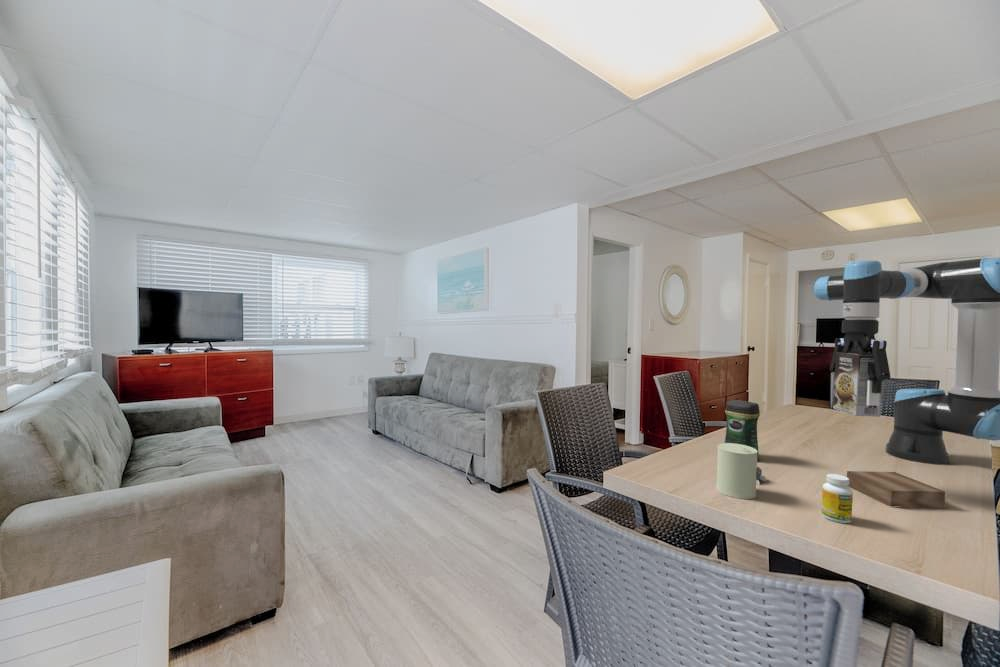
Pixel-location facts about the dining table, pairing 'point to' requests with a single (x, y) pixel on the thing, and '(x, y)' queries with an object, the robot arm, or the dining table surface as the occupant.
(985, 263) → the robot arm
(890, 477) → the walnut stand
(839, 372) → the cookie box
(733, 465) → the can
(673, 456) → the dining table surface
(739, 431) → the coffee jar
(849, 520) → the supplement bottle
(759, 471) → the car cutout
